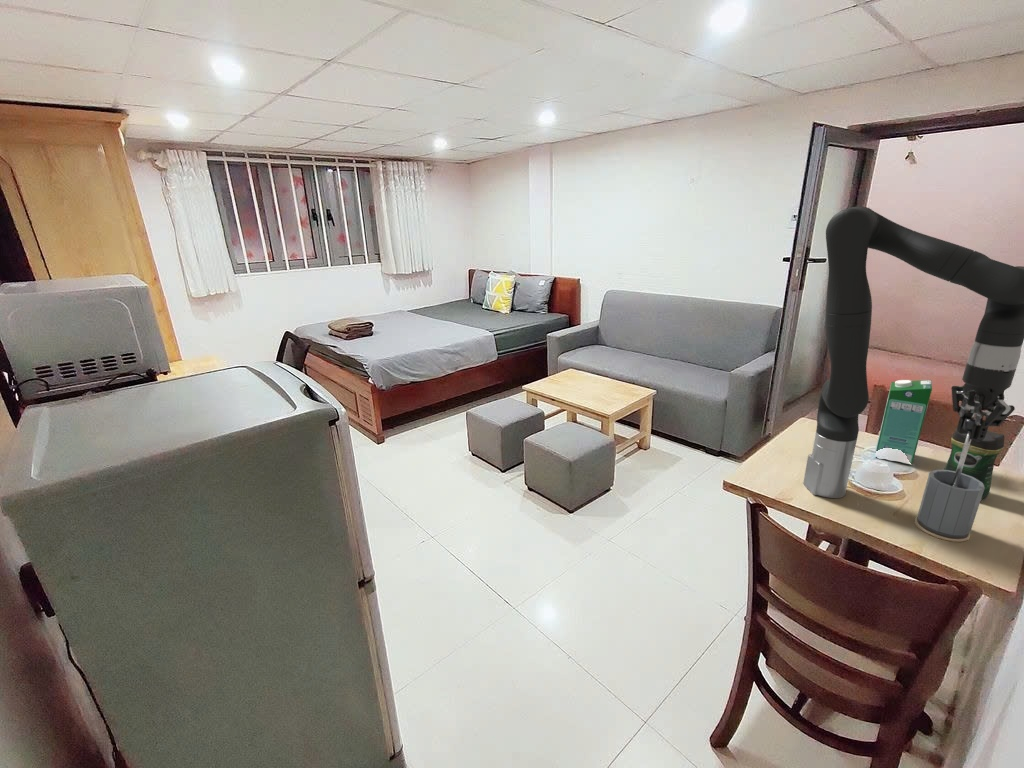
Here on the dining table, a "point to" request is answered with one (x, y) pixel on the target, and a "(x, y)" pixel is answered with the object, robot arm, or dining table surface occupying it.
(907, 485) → the dining table surface
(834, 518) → the dining table surface
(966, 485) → the press carafe
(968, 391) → the robot arm
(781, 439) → the dining table surface
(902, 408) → the milk carton
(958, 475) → the plunger
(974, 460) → the coffee jar
